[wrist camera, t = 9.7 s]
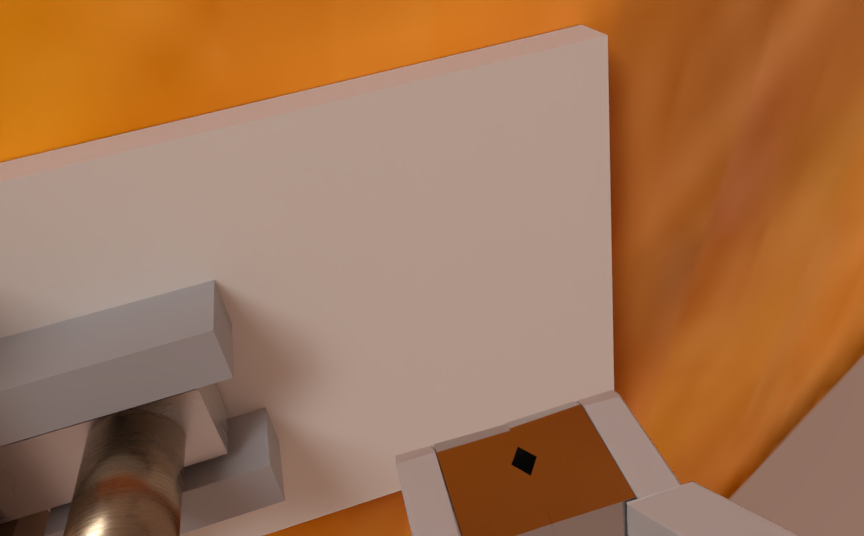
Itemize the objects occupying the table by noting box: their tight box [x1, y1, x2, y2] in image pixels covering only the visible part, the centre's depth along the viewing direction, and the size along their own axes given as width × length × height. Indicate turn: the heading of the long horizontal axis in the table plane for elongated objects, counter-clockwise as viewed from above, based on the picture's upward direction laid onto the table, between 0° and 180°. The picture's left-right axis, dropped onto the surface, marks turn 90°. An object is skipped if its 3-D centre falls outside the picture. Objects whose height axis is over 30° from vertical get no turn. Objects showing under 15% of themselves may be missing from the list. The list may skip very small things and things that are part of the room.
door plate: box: [0, 25, 614, 536], centre depth 18 cm, size 25×14×6 cm, turn 100°
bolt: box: [0, 383, 228, 536], centre depth 16 cm, size 10×2×6 cm, turn 100°
